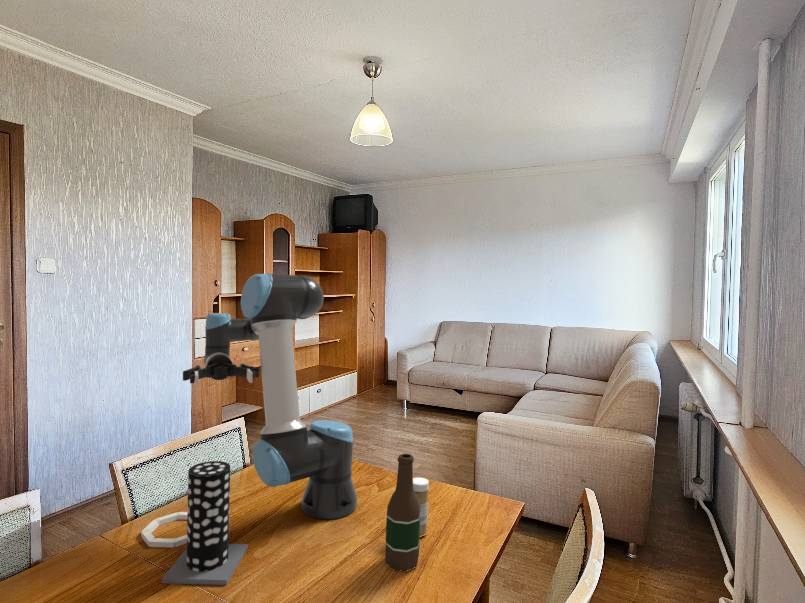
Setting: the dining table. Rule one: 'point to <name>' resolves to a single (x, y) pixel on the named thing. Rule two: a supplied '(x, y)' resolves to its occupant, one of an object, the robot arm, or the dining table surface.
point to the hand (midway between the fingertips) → (224, 379)
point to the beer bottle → (403, 520)
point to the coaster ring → (164, 542)
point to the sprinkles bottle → (422, 501)
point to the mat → (212, 577)
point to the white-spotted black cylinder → (208, 515)
